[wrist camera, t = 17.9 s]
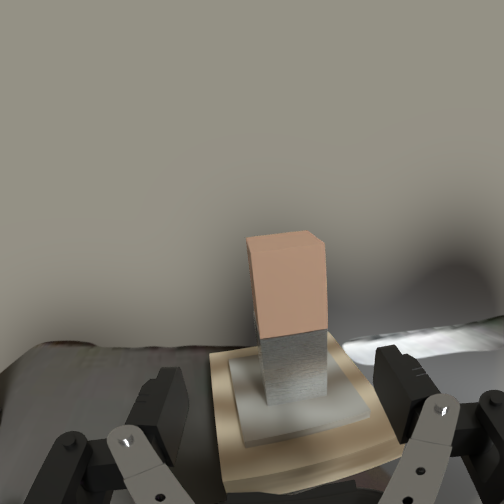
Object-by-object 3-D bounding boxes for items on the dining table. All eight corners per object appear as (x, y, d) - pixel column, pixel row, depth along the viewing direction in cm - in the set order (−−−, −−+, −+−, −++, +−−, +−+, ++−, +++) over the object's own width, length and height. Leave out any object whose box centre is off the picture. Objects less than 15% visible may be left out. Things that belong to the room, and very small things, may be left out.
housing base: (260, 373, 29) (252, 301, 27) (312, 364, 30) (309, 293, 28) (267, 406, 24) (258, 328, 23) (326, 395, 25) (327, 317, 23)
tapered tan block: (254, 310, 28) (245, 237, 26) (311, 302, 28) (307, 230, 26) (260, 338, 23) (250, 252, 21) (327, 328, 23) (324, 243, 21)
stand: (214, 376, 36) (208, 347, 35) (328, 354, 38) (328, 325, 37) (229, 502, 19) (220, 475, 18) (401, 456, 20) (410, 424, 19)
